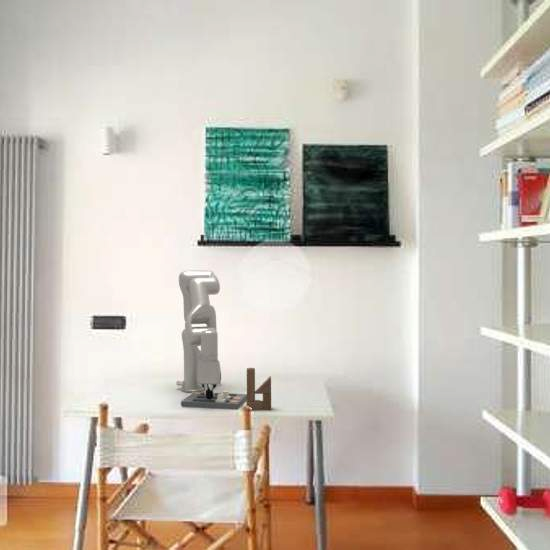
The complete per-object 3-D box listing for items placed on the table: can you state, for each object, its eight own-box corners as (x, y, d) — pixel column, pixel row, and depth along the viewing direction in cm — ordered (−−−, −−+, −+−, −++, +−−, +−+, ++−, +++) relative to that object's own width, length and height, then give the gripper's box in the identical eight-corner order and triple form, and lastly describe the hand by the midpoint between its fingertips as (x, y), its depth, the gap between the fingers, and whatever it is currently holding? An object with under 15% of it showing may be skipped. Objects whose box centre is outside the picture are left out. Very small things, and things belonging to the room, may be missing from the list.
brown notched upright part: (271, 410, 243) (271, 368, 243) (246, 410, 242) (246, 369, 242) (270, 407, 247) (270, 367, 246) (246, 408, 246) (246, 367, 246)
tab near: (215, 405, 248) (215, 394, 247) (217, 403, 251) (217, 393, 251) (224, 405, 247) (223, 395, 247) (226, 403, 250) (225, 393, 250)
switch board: (181, 406, 249) (180, 400, 249) (194, 397, 267) (194, 391, 267) (237, 409, 244) (237, 403, 244) (247, 399, 262) (247, 393, 262)
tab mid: (220, 401, 253) (220, 391, 253) (222, 399, 256) (222, 390, 256) (228, 402, 253) (228, 392, 252) (230, 400, 256) (230, 390, 256)
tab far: (204, 397, 261) (204, 388, 261) (206, 395, 264) (206, 386, 264) (212, 397, 260) (212, 388, 260) (214, 396, 263) (214, 386, 263)
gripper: (190, 358, 247) (190, 400, 247) (223, 359, 244) (223, 401, 245) (195, 356, 254) (196, 396, 255) (227, 356, 252) (228, 397, 252)
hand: (209, 398), depth 250 cm, fingers closed
